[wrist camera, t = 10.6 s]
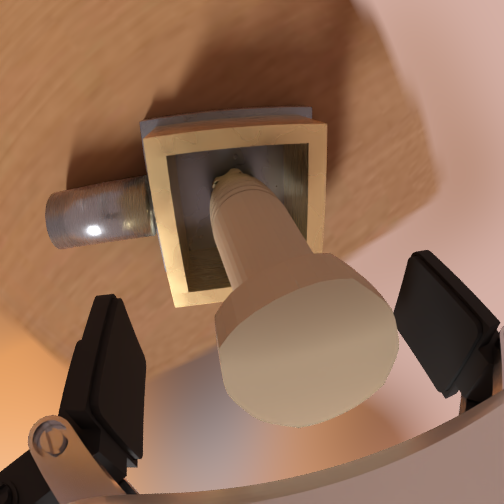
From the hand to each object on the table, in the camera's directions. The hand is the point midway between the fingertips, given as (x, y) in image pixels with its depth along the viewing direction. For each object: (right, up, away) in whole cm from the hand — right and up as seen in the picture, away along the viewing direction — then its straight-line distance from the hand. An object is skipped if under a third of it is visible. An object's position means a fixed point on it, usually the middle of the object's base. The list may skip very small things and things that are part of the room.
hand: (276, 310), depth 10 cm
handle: (-2, +6, +11) cm, 13 cm away
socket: (-6, +6, +12) cm, 15 cm away
